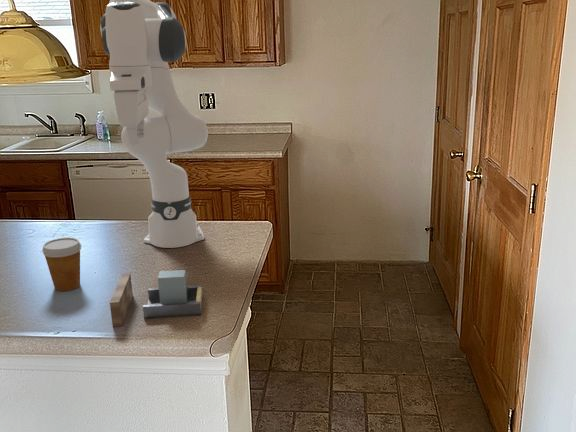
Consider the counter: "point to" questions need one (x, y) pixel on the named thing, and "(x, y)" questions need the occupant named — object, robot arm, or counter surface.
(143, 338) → the counter surface
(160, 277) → the block
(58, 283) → the disposable coffee cup
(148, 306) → the keeper
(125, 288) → the brown wooden board
